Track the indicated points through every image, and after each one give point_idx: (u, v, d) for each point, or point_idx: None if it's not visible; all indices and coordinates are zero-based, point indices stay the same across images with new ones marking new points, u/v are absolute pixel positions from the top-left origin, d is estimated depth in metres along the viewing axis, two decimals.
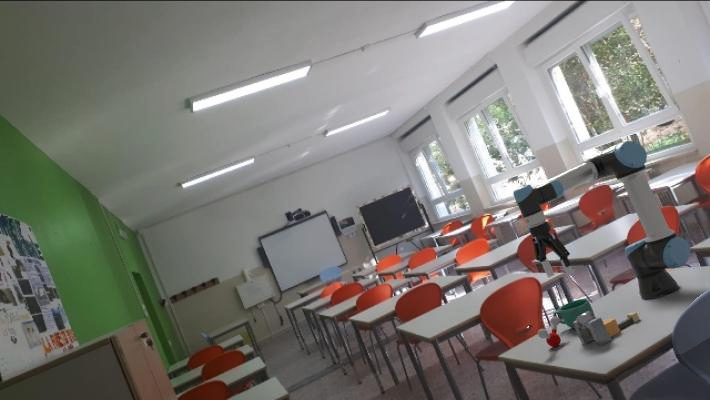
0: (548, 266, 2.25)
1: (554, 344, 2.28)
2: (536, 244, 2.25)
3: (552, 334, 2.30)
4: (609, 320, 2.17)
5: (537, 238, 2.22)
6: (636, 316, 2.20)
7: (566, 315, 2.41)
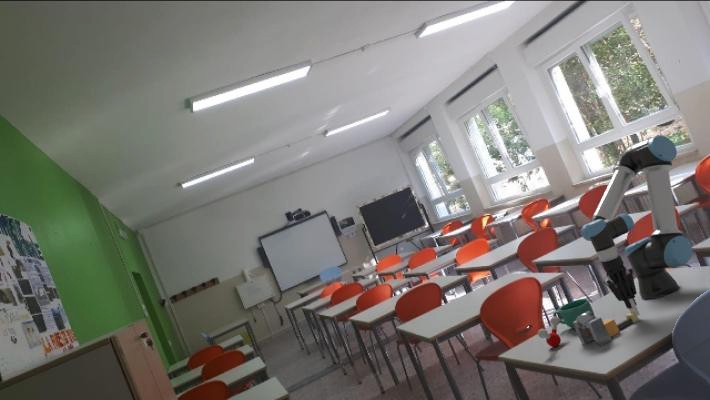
0: None
1: (554, 344, 2.28)
2: (626, 275, 2.24)
3: (552, 334, 2.30)
4: (608, 320, 2.17)
5: None
6: (635, 316, 2.19)
7: (566, 315, 2.41)
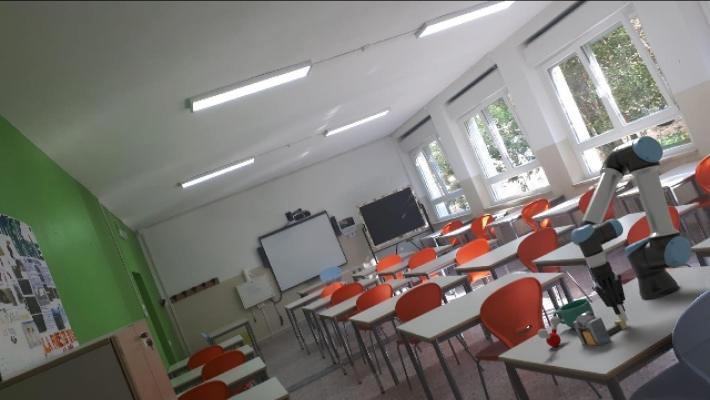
0: None
1: (554, 344, 2.28)
2: (615, 281, 2.23)
3: (552, 334, 2.30)
4: None
5: None
6: (624, 323, 2.18)
7: (566, 315, 2.41)
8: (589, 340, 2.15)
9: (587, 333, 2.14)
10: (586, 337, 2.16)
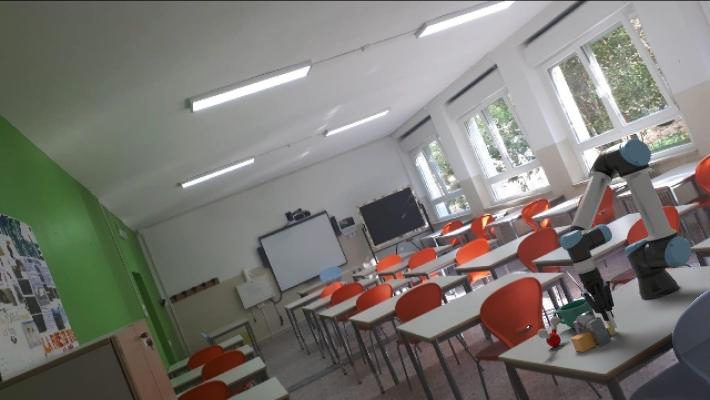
0: None
1: (554, 344, 2.28)
2: (604, 287, 2.21)
3: (552, 334, 2.30)
4: (584, 333, 2.14)
5: None
6: (612, 329, 2.16)
7: (566, 315, 2.41)
8: (577, 347, 2.13)
9: (575, 339, 2.13)
10: (574, 344, 2.14)
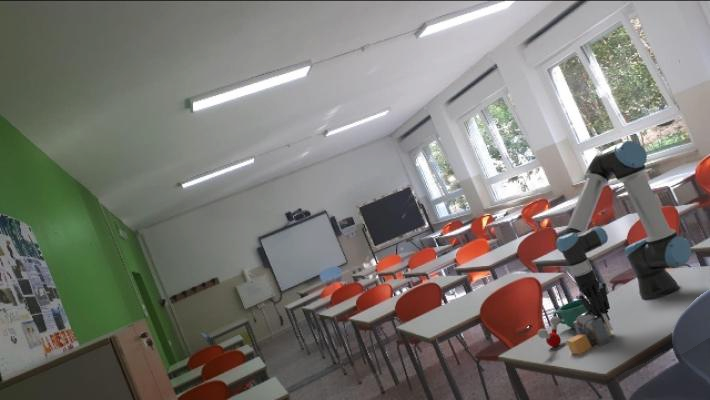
0: None
1: (554, 344, 2.28)
2: (599, 290, 2.20)
3: (552, 334, 2.30)
4: (580, 336, 2.13)
5: None
6: (608, 331, 2.16)
7: (566, 315, 2.41)
8: (573, 350, 2.13)
9: (571, 342, 2.12)
10: (570, 346, 2.14)
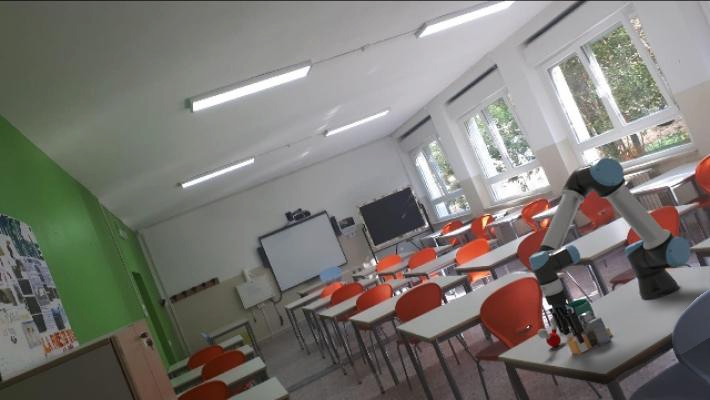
0: None
1: (554, 344, 2.28)
2: (554, 314, 2.19)
3: (552, 334, 2.30)
4: None
5: (552, 305, 2.17)
6: (608, 331, 2.16)
7: None
8: (573, 350, 2.13)
9: (571, 342, 2.12)
10: (570, 346, 2.14)
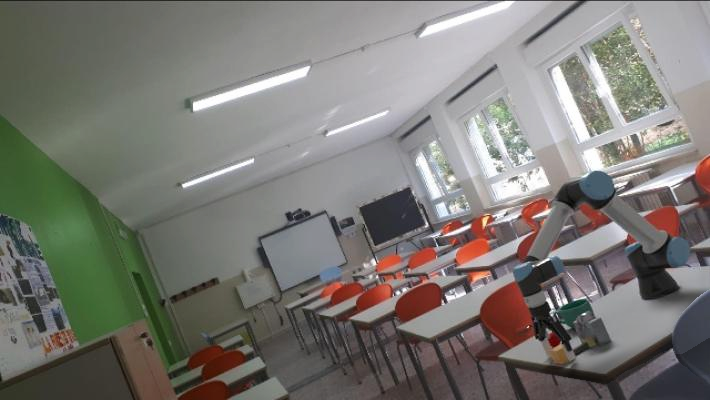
0: (548, 346, 2.17)
1: (554, 344, 2.28)
2: (535, 323, 2.17)
3: (552, 334, 2.30)
4: None
5: (537, 318, 2.14)
6: (591, 341, 2.13)
7: (566, 315, 2.41)
8: (556, 359, 2.10)
9: (554, 351, 2.10)
10: (553, 356, 2.11)
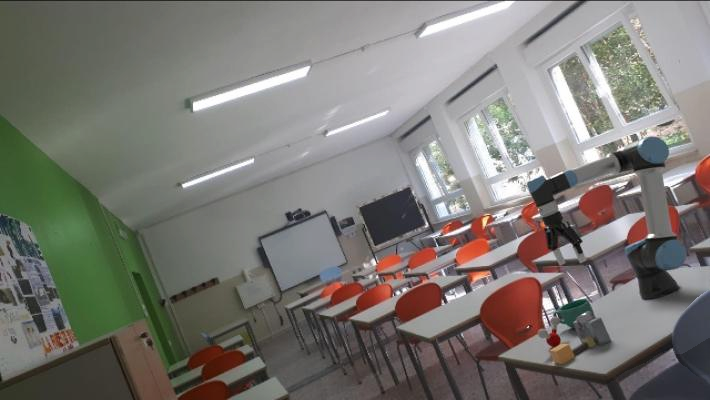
0: (559, 254, 2.33)
1: (554, 344, 2.28)
2: (548, 233, 2.33)
3: (552, 334, 2.30)
4: (563, 345, 2.11)
5: (549, 227, 2.30)
6: (591, 341, 2.13)
7: (566, 315, 2.41)
8: (556, 359, 2.10)
9: (554, 351, 2.10)
10: (553, 356, 2.11)
